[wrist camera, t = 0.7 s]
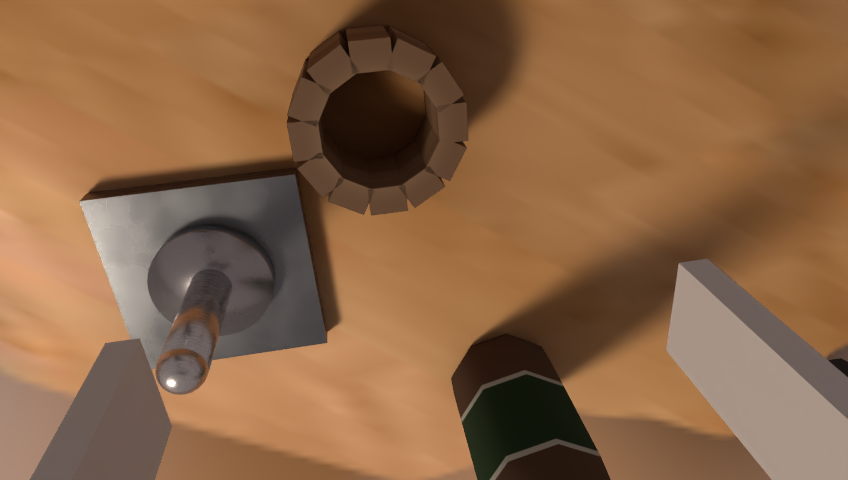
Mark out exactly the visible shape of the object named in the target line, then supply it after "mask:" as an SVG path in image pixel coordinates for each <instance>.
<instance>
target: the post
mask: <svg viewBox="0 0 848 480" xmlns="http://www.w3.org/2000/svg"><path fill="white" fill-rule="evenodd" d="M79 202H80V205H81V207H82V210H83V213H84V215H85V218H86V221H87V223H88V226H89V229H90V231H91V234H92V237H93V239H94V242H95V245H96V247H97V250H98V253H99V255H100V258H101V261H102V263H103V266H104V269H105V271H106V274H107V277H108V279H109V282H110V285H111V287H112V290H113V293H114V295H115V298H116V301H117V303H118V306H119V309H120V311H121V314H122V317H123V319H124V322H125V325H126V327H127V330H128V333H129V335H130V338H131V340H132V339H139V338H140V340H141V343H142V346H143V348H144V351H145V354H146V357H147V359H148V362H149V365H150V368H151V369H155V368H156V370H155V374H156V379H157V381H158V383H159V384H160V386H161V387H162V388H163V389H164V390H166V391H167V392H170V393H172V394H177V395H183V394H188V393H191V392H193V391H195V390H197V389H198V388H199V387H200V386H201V385H202V384H203V383H204V382H205V380H206V378H207V376H208V372H209V369H210V365H211V362H212V360H216V359H222V358H229V357H236V356H242V355H249V354H256V353H262V352H269V351H276V350H282V349H289V348H296V347H302V346H309V345H316V344H322V343H327V328H326V323H325V317H324V312H323V307H322V301H321V296H320V291H319V286H318V280H317V275H316V270H315V264H314V259H313V254H312V249H311V243H310V238H309V233H308V227H307V222H306V217H305V212H304V206H303V201H302V196H301V190H300V185H299V180H298V175H297V169H296V168H289V169H281V170H273V171H264V172H256V173H248V174H240V175H232V176H224V177H216V178H208V179H200V180H191V181H183V182H175V183H167V184H159V185H151V186H143V187H135V188H127V189H119V190H110V191H102V192H94V193H87V194H86V195H85V196H84V197H83V198H82V199H81V200H80V201H79Z"/></svg>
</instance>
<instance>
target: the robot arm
mask: <svg viewBox="0 0 848 480" xmlns="http://www.w3.org/2000/svg"><path fill="white" fill-rule="evenodd" d="M666 351H667V352H668V353H669V354H670V356H671V357H672V358H673V359H674V360H675V362H676V363H677V364H678V365H679V367H680V368H681V369H682V370H683V371H684V373H685V374H686V375H687V376H688V378H689V379H690V380H691V381H692V383H693V384H694V385H695V386H696V387H697V389H698V390H699V391H700V392H701V394H702V395H703V396H704V397H705V398H706V400H707V401H708V402H709V403H710V405H711V406H712V407H713V408H714V409H715V411H716V412H717V413H718V414H719V416H720V417H721V418H722V419H723V420H724V422H725V423H726V424H727V425H728V427H729V428H730V429H731V430H732V431H733V433H734V434H735V435H736V436H737V437H738V439H739V440H740V441H741V442H742V444H743V445H744V446H745V447H746V448H747V450H748V451H749V452H750V453H751V455H752V456H753V457H754V458H755V459H756V461H757V462H758V463H759V464H760V466H761V467H762V468H763V469H764V470H765V472H766V473H767V474H768V475H769V477H770V478H771V479H772V480H848V362H847V361H845V360H843V359H841V358H840V359H833V360H827V359H826V358H824V357H823V356H822V355H821V354H820V353H819V352H817V351H816V350H815V349H814V348H813V347H811V346H810V345H809V344H808V343H807V342H806V341H804V340H803V339H802V338H801V337H800V336H798V335H797V334H796V333H795V332H794V331H793V330H791V329H790V328H789V327H788V326H787V325H785V324H784V323H783V322H782V321H781V320H780V319H778V318H777V317H776V316H775V315H774V314H772V313H771V312H770V311H769V310H768V309H767V308H765V307H764V306H763V305H762V304H761V303H759V302H758V301H757V300H756V299H755V298H754V297H752V296H751V295H750V294H749V293H748V292H746V291H745V290H744V289H743V288H742V287H741V286H739V285H738V284H737V283H736V282H735V281H733V280H732V279H731V278H730V277H729V276H728V275H726V274H725V273H724V272H723V271H722V270H720V269H719V268H718V267H717V266H716V265H715V264H713V263H712V262H711V261H710V260H709V259H702V260H694V261H687V262H680V263H679V265H678V272H677V279H676V286H675V293H674V300H673V307H672V314H671V321H670V328H669V335H668V342H667V349H666ZM171 428H172V425H171V423H170V420H169V417H168V414H167V412H166V409H165V406H164V403H163V401H162V398H161V395H160V392H159V390H158V387H157V384H156V381H155V379H154V376H153V373H152V370H151V368H150V365H149V362H148V359H147V357H146V354H145V351H144V348H143V346H142V343H141V340H140V338H139V339H132V340H125V341H118V342H110V343H105V345H104V347H103V349H102V350H101V352H100V354H99V356H98V358H97V359H96V361H95V363H94V365H93V367H92V368H91V370H90V372H89V374H88V376H87V377H86V379H85V381H84V383H83V385H82V387H81V388H80V390H79V392H78V394H77V396H76V397H75V399H74V401H73V403H72V405H71V406H70V408H69V410H68V412H67V414H66V415H65V417H64V419H63V421H62V423H61V424H60V426H59V428H58V430H57V432H56V433H55V435H54V437H53V439H52V441H51V443H50V444H49V446H48V448H47V450H46V452H45V453H44V455H43V457H42V459H41V461H40V463H39V464H38V466H37V468H36V470H35V472H34V473H33V475H32V477H31V479H30V480H155V478H156V474H157V471H158V468H159V465H160V462H161V459H162V456H163V453H164V450H165V447H166V444H167V441H168V437H169V434H170V431H171Z"/></svg>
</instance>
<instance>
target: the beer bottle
mask: <svg viewBox="0 0 848 480" xmlns="http://www.w3.org/2000/svg"><path fill="white" fill-rule="evenodd" d="M451 380H452V385H453V390H454V396H455V399H456V403H457V407H458V410H459V414H460V417H461V421H462V425H463V428H464V432H465V436H466V439H467V443H468V447H469V450H470V454H471V458H472V461H473V465H474V469H475V472H476V476H477V479H478V480H610V477H609V475H608V473H607V470H606V468H605V466H604V463H603V461H602V458H601V456H600V454H599V452H598V450H597V449H596V447H595V445H594V443H593V441H592V439H591V437H590V435H589V433H588V431H587V430H586V428H585V426H584V424H583V422H582V420H581V418H580V416H579V414H578V413H577V411H576V409H575V407H574V405H573V403H572V401H571V399H570V397H569V395H568V394H567V392H566V390H565V388H564V386H563V384H562V382H561V380H560V378H559V377H558V375H557V373H556V371H555V369H554V367H553V365H552V363H551V361H550V360H549V358H548V357H547V355H546V353H545V352H544V350H543V349H542V347H540V346H538V345H535V344H533V343H530V342H527V341H524V340H521V339H519V338H516V337H513V336H510V335H507V334H505V335H502V336H500V337H497V338H494V339H491V340H488V341H486V342H483V343H480V344H477V345H474V346H471V347H470V348H469V350H468V352H467V353H466V355H465V357H464V358H463V360H462V361H461V363H460V365H459V366H458V368H457V369H456V371H455V373H454V374H453V376H452V378H451Z"/></svg>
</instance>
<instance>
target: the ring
mask: <svg viewBox="0 0 848 480" xmlns="http://www.w3.org/2000/svg"><path fill="white" fill-rule="evenodd" d="M346 35H347V42H346V40H345V39H344V38H343V36H342V35H341V33H340V32H339V31H338V32H337V33H336V34H334V35H333V36H332V37H331V38H329V39H328V40H327V41H325V42H324V43H323V44H321V45H320V46H319V47H318V48H316V49H315V50H314V51H312V52H311V53H310V56H309V61H308V60H305V62H304V65H303V68H302V70H301V73H300V76H299V78H298V81H297V84H296V86H295V89H294V92H293V95H292V99H291V103H290V107H289V111H288V114H287V115H288V120H287V128H288V133H289V138H290V144H291V149H292V154H293V160H294V162H297V161H298V168H297V169H298V170H299V171H300V172H301V174H302V175H303V176H304V177H305V178H306V179H307V180H308V182H309V183H310V184H311V185H312V186H313V187H314V188H315V190H316V191H317V192H318V193H319V194H320V195H321V197H322V198H323V197H324V196H325V195H327V194H328V193H329V202H330V203H333V204H336V205H339V206H341V207H344V208H347V209H350V210H352V211H355V212H358V213H360V214H363V215H364V213H365V211H366V209H367V207H368V204H370V211H371V215H379V214H386V213H394V212H402V211H408V206H407V199H408V200H409V201H410V203H411V204H412V205H413V206H414V208H416V207H417V206H418V205H420V204H421V203H423V202H424V201H426V200H427V199H428V198H430V197H431V196H433V195H434V194H436V193H437V192H438V191H440V190H441V189H443V188H444V187H445V185H444V183H443V181H442V179H441V178H443V179H446V180H448V181H450V180H451V178H452V176H453V174H454V172H455V170H456V168H457V166H458V164H459V162H460V160H461V158H462V156H463V154H464V152H465V150H466V148H467V147H466V146H465V144H464V143H463V141H468V123H467V103H466V101H465V100H464V99H463V98H462V96H463V95H464V94H463V93H462V91H461V89H460V88H459V86H458V85H457V83H456V82H455V80H454V79H453V77H452V76H451V74H450V73H449V71H448V70H447V68H446V67H445V65H444V64H443V62H442V61H441V60H440V59H439V58H438V57H437V56H436V55H435V54H434V53H433V52H432V51H431V50H430V48H429V47H428V46H426V45H425V44H424V43H423V42H422V41H420V40H418V39H416V38H414V37H412V36H409V35H407V34H405V33H403V32H401V31H399V30H397V29H395V28H393V27H391V26H389V28H388V30H387V31H386V30H385V28H384V27H383V25H374V26H364V27H354V28H346ZM385 70H391V71H393V72H395V73H397V74H399V75H402V76H404V77H406V78H408V79H411V80H413V81H415V82H417V83H419V84H420V85H421V87H422V88H423V89H424V99H425V111H426V116H425V119H424V121H423V123H422V125H421V127H420V129H419V131H418V134H417V136H416V138H415V140H414V141H412V142H411V143H410V144H408V145H407V146H406V147H404V148H403V149H401V150H400V151H399V152H397V153H396V154H394V155H393V156H386V157H378V158H370V159H365V158H363V157H360V156H358V155H355V154H353V153H350V152H348V151H345V150H343V149H341V148H340V147H339V145H338V144H337V143H336V142H335V141H334V139H333V138H332V137H331V136H330V134H329V133H328V132H327V131H326V129H325V128H324V124H323V118H322V112H323V110H324V107H325V105H326V102H327V100H328V97H329V95H330V93H331V92H333V91H334V90H335V89H337V88H338V87H339V86H341V85H342V84H343V83H345V82H346V81H347V80H349V79H350V78H351V77H352V76H354V75H355V74H358V73H367V72H376V71H385Z"/></svg>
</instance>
